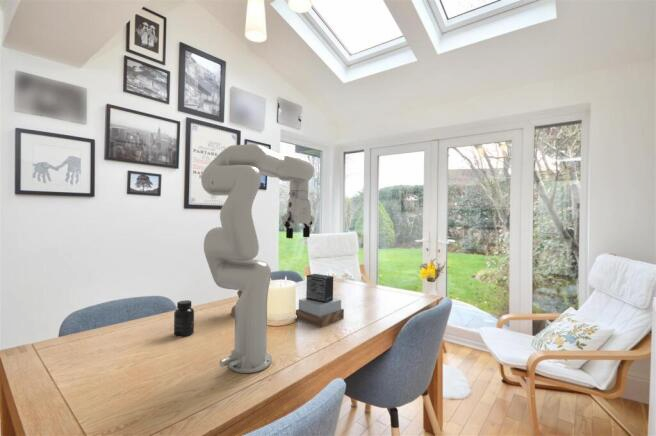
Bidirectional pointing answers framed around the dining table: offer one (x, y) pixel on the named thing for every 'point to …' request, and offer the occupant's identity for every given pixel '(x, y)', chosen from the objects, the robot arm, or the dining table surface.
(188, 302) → the supplement bottle
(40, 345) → the dining table surface
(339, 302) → the tower top
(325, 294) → the small box
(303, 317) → the tower base
